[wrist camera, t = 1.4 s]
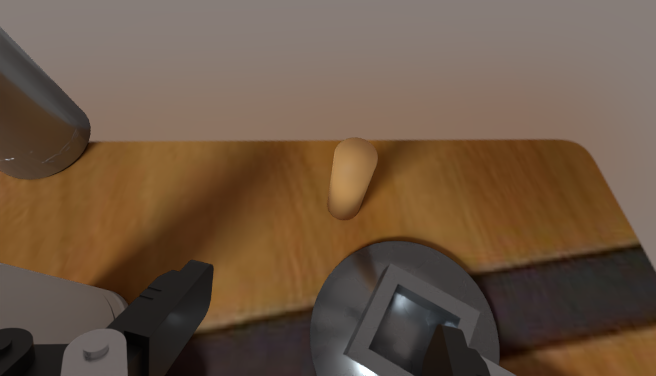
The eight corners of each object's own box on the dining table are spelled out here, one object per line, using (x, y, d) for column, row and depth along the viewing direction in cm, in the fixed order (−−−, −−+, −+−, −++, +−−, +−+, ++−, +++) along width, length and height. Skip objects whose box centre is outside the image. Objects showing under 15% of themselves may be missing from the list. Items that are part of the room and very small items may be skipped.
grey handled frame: (274, 375, 29) (268, 381, 25) (361, 214, 35) (367, 199, 31) (533, 539, 25) (570, 573, 22) (581, 330, 31) (616, 328, 28)
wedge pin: (321, 210, 35) (326, 163, 26) (336, 184, 36) (346, 130, 27) (350, 225, 34) (366, 183, 25) (365, 199, 35) (384, 149, 26)
